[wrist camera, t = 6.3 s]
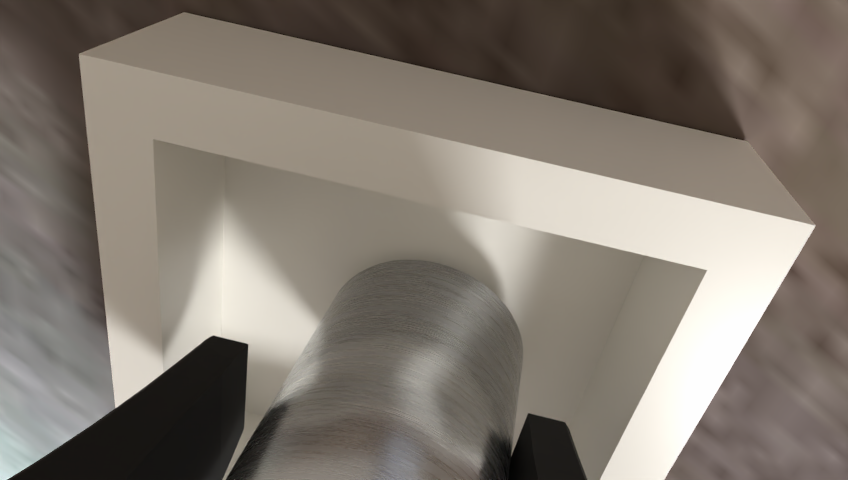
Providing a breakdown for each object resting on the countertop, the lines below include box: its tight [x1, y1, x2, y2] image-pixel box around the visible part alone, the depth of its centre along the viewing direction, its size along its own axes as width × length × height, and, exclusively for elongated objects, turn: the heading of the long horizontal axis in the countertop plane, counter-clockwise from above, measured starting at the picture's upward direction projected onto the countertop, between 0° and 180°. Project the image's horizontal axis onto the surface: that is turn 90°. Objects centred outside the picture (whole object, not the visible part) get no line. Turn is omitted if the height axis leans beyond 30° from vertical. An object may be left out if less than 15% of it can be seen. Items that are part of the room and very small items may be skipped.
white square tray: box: [79, 12, 816, 480], centre depth 12 cm, size 10×10×3 cm
